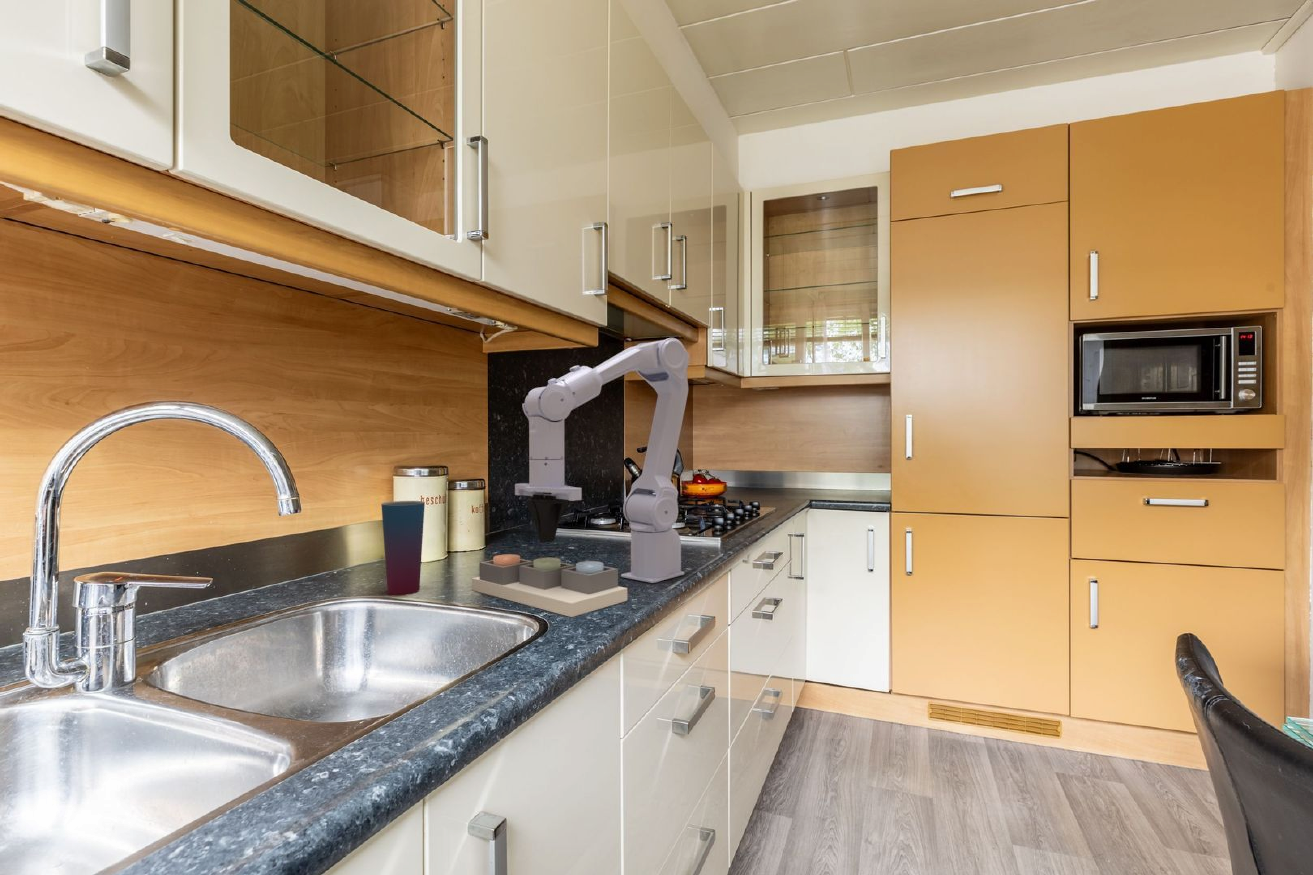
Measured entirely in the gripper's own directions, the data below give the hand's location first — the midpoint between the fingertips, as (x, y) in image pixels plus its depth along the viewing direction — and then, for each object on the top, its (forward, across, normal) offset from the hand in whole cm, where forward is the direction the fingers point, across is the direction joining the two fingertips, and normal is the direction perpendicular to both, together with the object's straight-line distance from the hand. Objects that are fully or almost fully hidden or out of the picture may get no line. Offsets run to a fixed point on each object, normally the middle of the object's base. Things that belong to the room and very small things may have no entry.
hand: (547, 541), depth 106 cm
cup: (+9, -20, -14) cm, 26 cm away
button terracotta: (+6, -7, -2) cm, 10 cm away
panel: (+9, 0, 0) cm, 9 cm away
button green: (+5, 0, 0) cm, 5 cm away
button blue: (+5, +7, +3) cm, 10 cm away
